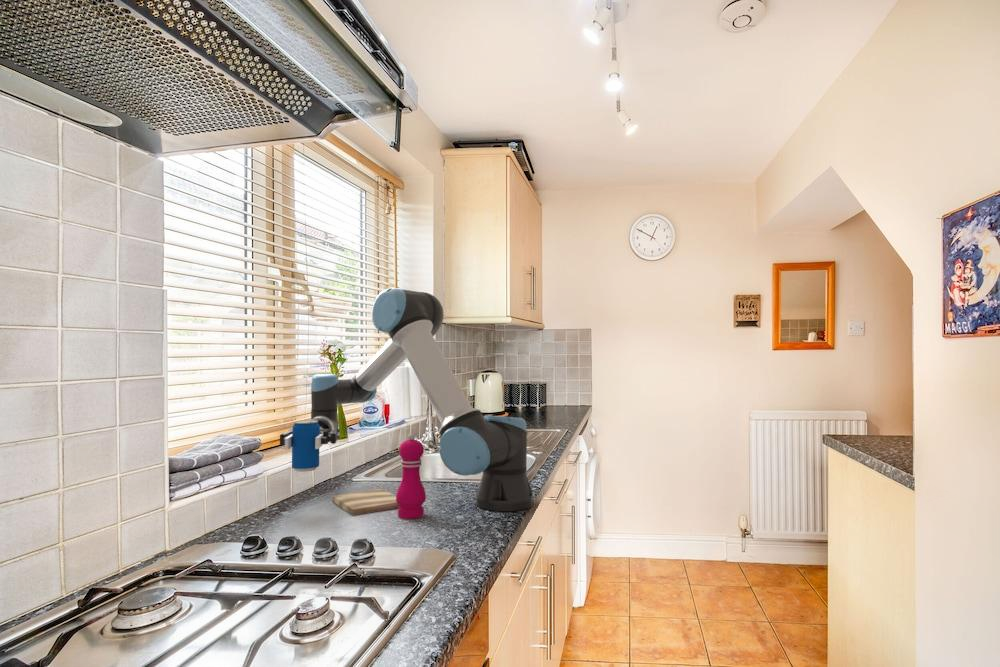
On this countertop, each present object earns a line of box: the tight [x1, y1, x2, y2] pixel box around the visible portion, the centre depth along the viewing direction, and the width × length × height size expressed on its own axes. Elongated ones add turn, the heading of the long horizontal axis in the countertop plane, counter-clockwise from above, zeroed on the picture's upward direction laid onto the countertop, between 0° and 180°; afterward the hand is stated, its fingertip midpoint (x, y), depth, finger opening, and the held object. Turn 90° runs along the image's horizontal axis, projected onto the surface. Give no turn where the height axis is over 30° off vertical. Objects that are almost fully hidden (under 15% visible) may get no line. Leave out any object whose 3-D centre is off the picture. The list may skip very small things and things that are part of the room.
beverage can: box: [291, 419, 320, 473], centre depth 140 cm, size 6×6×12 cm
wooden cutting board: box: [332, 488, 400, 516], centre depth 147 cm, size 16×14×2 cm
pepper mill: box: [395, 433, 427, 520], centre depth 137 cm, size 7×7×20 cm
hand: (301, 443), depth 135 cm, fingers closed on beverage can, 6 cm apart
